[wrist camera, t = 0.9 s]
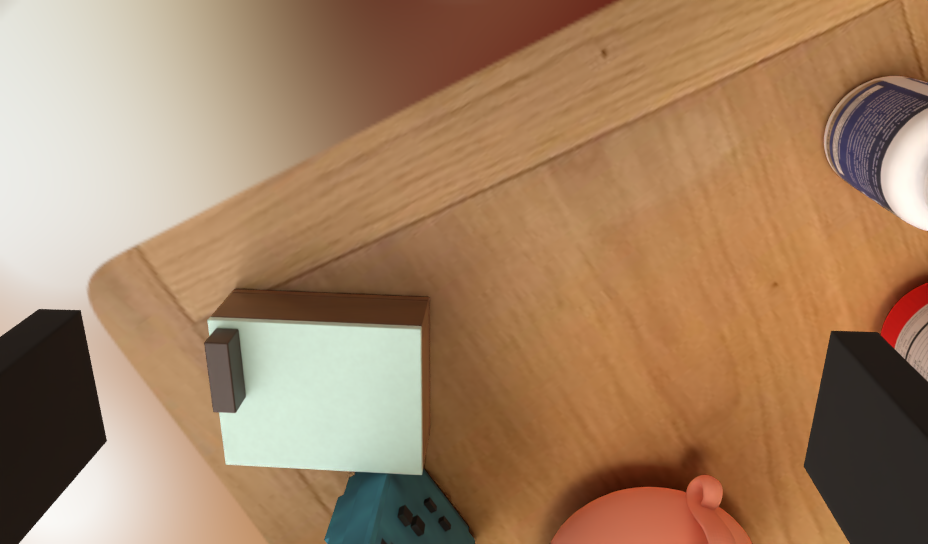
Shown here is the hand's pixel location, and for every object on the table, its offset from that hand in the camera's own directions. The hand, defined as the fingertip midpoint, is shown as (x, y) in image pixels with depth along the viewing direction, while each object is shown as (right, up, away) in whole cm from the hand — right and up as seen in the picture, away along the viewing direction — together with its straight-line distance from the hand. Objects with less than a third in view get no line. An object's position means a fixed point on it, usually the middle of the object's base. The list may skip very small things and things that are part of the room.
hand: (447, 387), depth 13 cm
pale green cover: (-7, -4, +26) cm, 28 cm away
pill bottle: (+20, +9, +23) cm, 32 cm away
